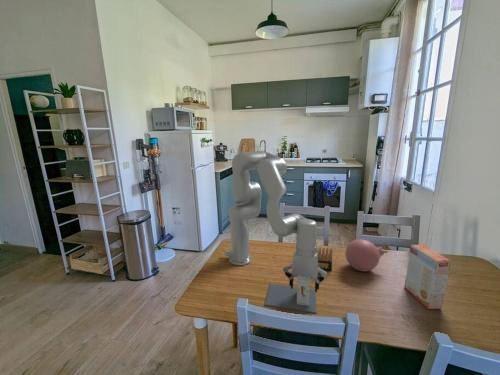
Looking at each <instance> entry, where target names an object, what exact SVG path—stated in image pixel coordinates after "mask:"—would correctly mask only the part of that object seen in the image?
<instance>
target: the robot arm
mask: <svg viewBox="0 0 500 375" xmlns="http://www.w3.org/2000/svg"><path fill="white" fill-rule="evenodd" d="M231 168H232V169H231V170H232V175H233V176H232V193H231V194H232V195H231V196H232V199H233V201H234V202H235V203H236V204H233V205H231V206H230V207H229V208H228V219H229V223H230V239H231V240H230V242H231V244H230V245H231V248H230V249H231V250H228V249H227V250H226V249H225V250H224V256H225V257H228V261H229V263H230V264H232V265H235V266H247V265H248V264H250V263H251V262H252V261H253V256H252V255H251V254H250V228H249V226H248V224H247V223H246V221H249V220H252V219H255V218H257V217H258V216H260V213H261V212H260V211H261V207H262V206H261V205H262V204H261V203H262V188H261V185H260V184H259V183H258V182H256V181H251V175H250V172H249V171H252V170H256V171H257V174H258V177H259V179H260V181H261V184H262V186H263V188H264V191H265V193H266V194H267V201H266V209H265V210H266V217H267V220H268V223H269V225H270V227H271V229H272V231H273V233H274V234H275V235H276V236H277V237H280V238H286V237H288V236H291V235H292V234H296V240H295V243H296V244H295V250H293V255H292V261H291V262H292V263H291V264H288V265H285V266H283V268H282V271H283V273H284V274H285V276H286V277H287V279H288V280H289V284H288V286H291V289H293V287H294V278H298V276H306V277H310V280H311V279H312V280H314V282H315V283H314V290H315V293H318V291H319V289H320V284H321V283H322V282H323V281H325V278H327V276H328V271H325V270H322V269H320V268H319V267H318V256H317V254H318V253H319V248H318V247H317V231H318V224H317V221H315V220H314V219H310V218H306V217H305V216H303V215H301V214H299V213H291V214H288V215H285V216H282V214H281V212H280V207H279V203H280V200H281V198H282V196H283V195H285V193H286V192H287V187H286V184H285V182H284V180H283V178H282V176H284V175H285V174H286V173H287V170H288V167H287V164H286V161H285V160H284V159H283V158H281V157H280V156H278V155H274V154H273V153H270V152H268V151H265V150H258V151H245V152H239V153H237V154H235V155H234V156H233V158H232V161H231ZM316 247H317V248H316ZM289 270H291V272H289ZM319 273H320V274H321V275H320V276H319Z"/></svg>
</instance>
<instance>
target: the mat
mask: <svg viewBox="0 0 500 375" xmlns="http://www.w3.org/2000/svg"><path fill="white" fill-rule="evenodd" d="M316 293H317V292H315V288H314V289H313V288H312V289H311V288H310V290H309V306H306V305H299V304H297V286H293V289H291V286H289V285H284V284H283V285H282V284H276V283H269V286H268V290H267V294H266V297H265V302H264V306H267V307H273V308H279V309H286V310H291V311H298V312H305V313H310V314H317V298H316V297H317V296H316Z"/></svg>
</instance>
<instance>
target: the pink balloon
mask: <svg viewBox="0 0 500 375" xmlns="http://www.w3.org/2000/svg"><path fill="white" fill-rule="evenodd" d="M384 254H388V251H387V250H385V249H383V247H382V246H379V247H377V246H376V245H375V244H374V243H372V242H371V241H370V240H368V239H367V240H366V239H365V238H364V239H363V238H358V239H355V240H352V241H351V242H349V243H348V245H347V246H346V249H345V259H346V261H347V262H348V264H349V266H351V267H352V268H353V269H354V270H357V271H358V272H359V271H360V272H370V271H373V270H374V269H375V268H377V266H378V265H379V262H380V259H381V257H382V256H384Z"/></svg>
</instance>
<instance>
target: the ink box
mask: <svg viewBox="0 0 500 375" xmlns="http://www.w3.org/2000/svg"><path fill="white" fill-rule="evenodd" d="M296 278H297V282H296V284H297V286H296V287H297V304H299V305H306V306H309V290H310V289H311V288H310V284H311V283H310V281H311V279H310V277H306V276H298V277H296Z"/></svg>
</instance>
